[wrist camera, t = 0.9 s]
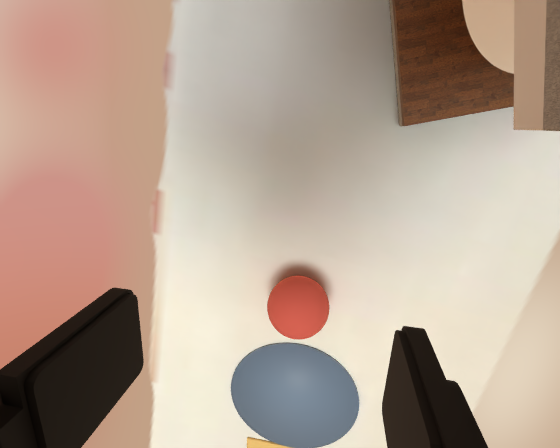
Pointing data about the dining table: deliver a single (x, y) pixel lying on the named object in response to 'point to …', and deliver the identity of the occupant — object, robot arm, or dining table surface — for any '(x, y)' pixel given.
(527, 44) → the display case
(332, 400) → the disc
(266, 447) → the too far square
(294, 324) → the ball
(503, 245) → the dining table surface
